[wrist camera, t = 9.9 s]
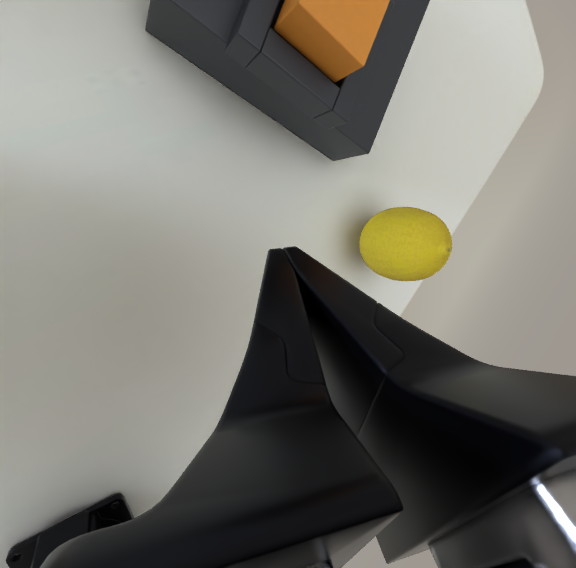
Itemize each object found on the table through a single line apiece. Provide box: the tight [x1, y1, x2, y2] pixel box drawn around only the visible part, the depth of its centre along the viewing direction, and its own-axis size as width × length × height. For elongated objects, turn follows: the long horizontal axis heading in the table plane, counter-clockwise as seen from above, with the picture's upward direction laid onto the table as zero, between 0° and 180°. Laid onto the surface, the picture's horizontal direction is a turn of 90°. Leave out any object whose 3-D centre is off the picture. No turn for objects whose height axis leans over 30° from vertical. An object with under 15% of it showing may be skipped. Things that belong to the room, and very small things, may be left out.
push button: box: [145, 0, 430, 161], centre depth 18 cm, size 11×14×6 cm
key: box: [274, 0, 390, 82], centre depth 15 cm, size 4×4×2 cm
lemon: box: [359, 207, 452, 281], centre depth 24 cm, size 6×6×8 cm
